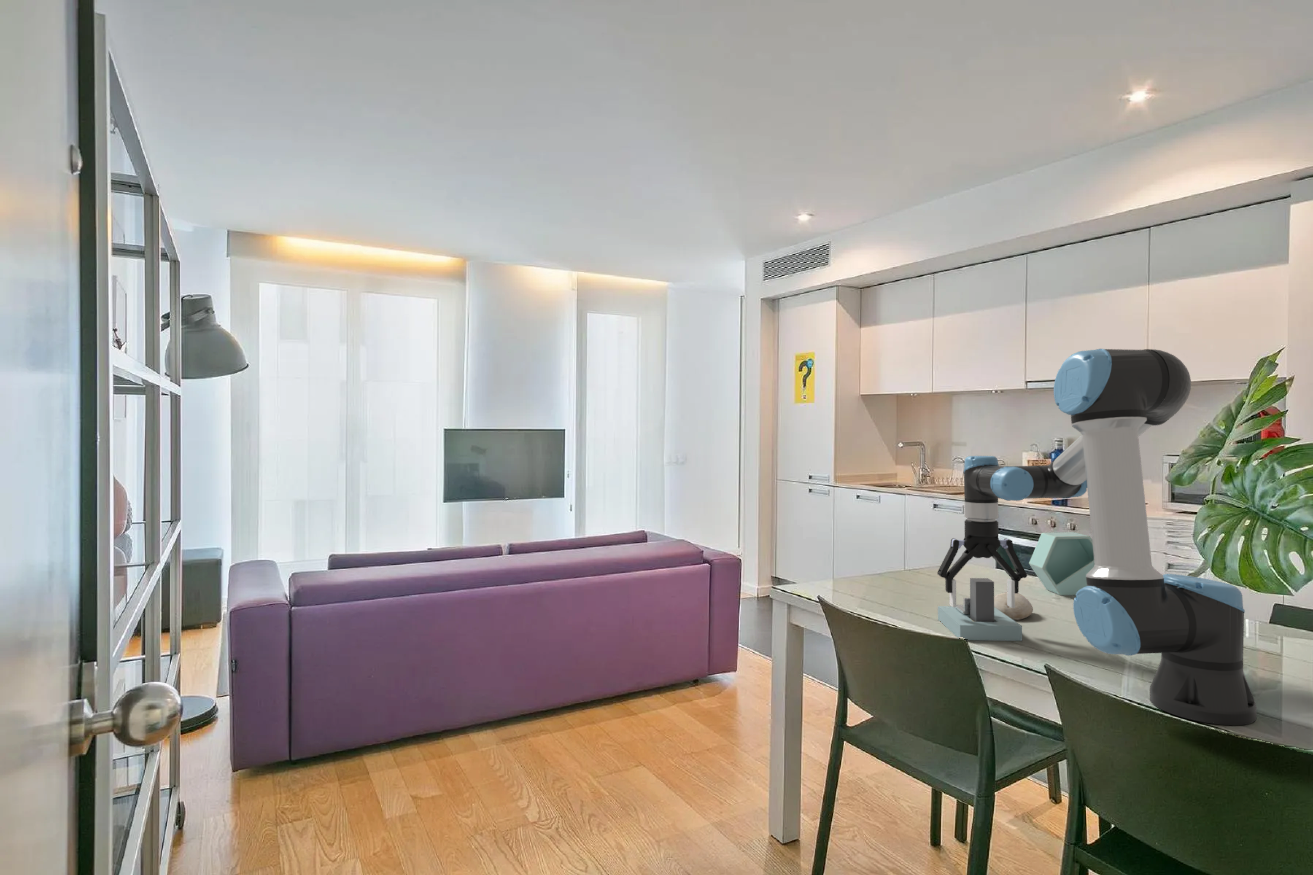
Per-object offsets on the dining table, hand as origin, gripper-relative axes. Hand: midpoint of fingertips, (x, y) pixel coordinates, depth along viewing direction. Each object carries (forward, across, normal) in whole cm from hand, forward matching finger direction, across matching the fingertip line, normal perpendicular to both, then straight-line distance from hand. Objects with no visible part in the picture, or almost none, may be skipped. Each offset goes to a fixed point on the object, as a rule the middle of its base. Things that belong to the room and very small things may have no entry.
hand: (981, 606), depth 175 cm
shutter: (+3, 0, -7) cm, 7 cm away
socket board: (+7, 0, -3) cm, 7 cm away
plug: (+7, 0, 0) cm, 7 cm away
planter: (+7, -40, -44) cm, 60 cm away
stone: (+7, -13, -18) cm, 23 cm away
